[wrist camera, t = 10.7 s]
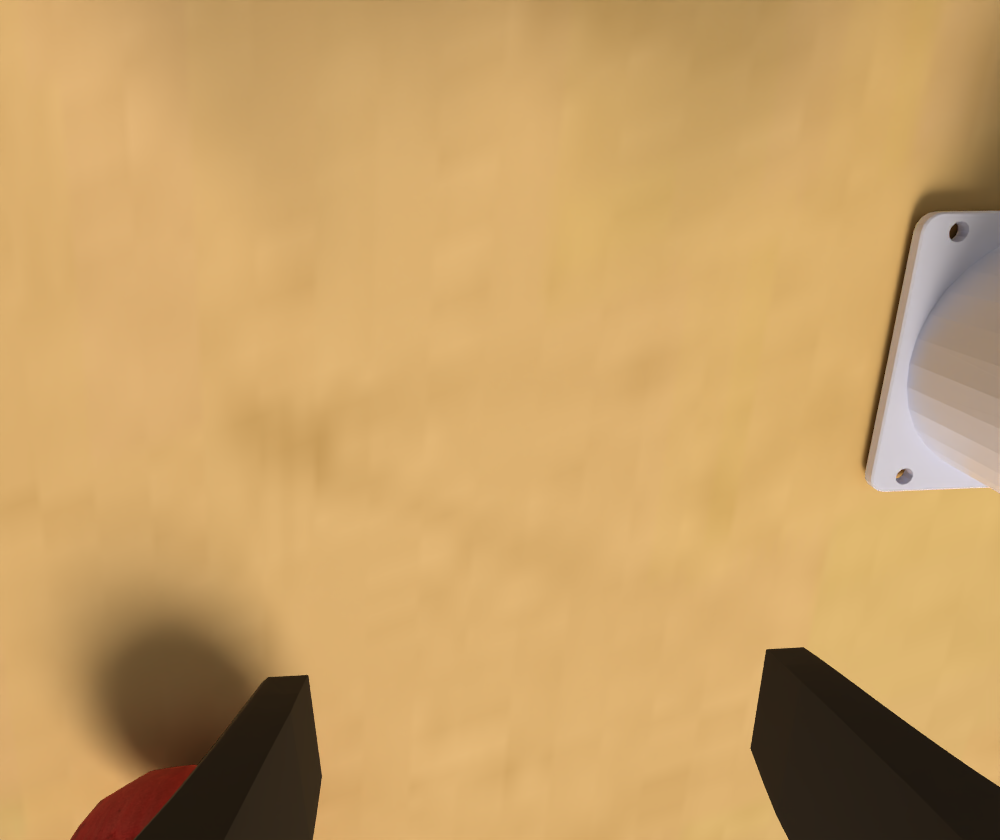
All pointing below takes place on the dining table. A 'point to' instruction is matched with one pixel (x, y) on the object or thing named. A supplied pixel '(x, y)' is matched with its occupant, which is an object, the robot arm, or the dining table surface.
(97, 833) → the onion
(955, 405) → the robot arm
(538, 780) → the dining table surface
